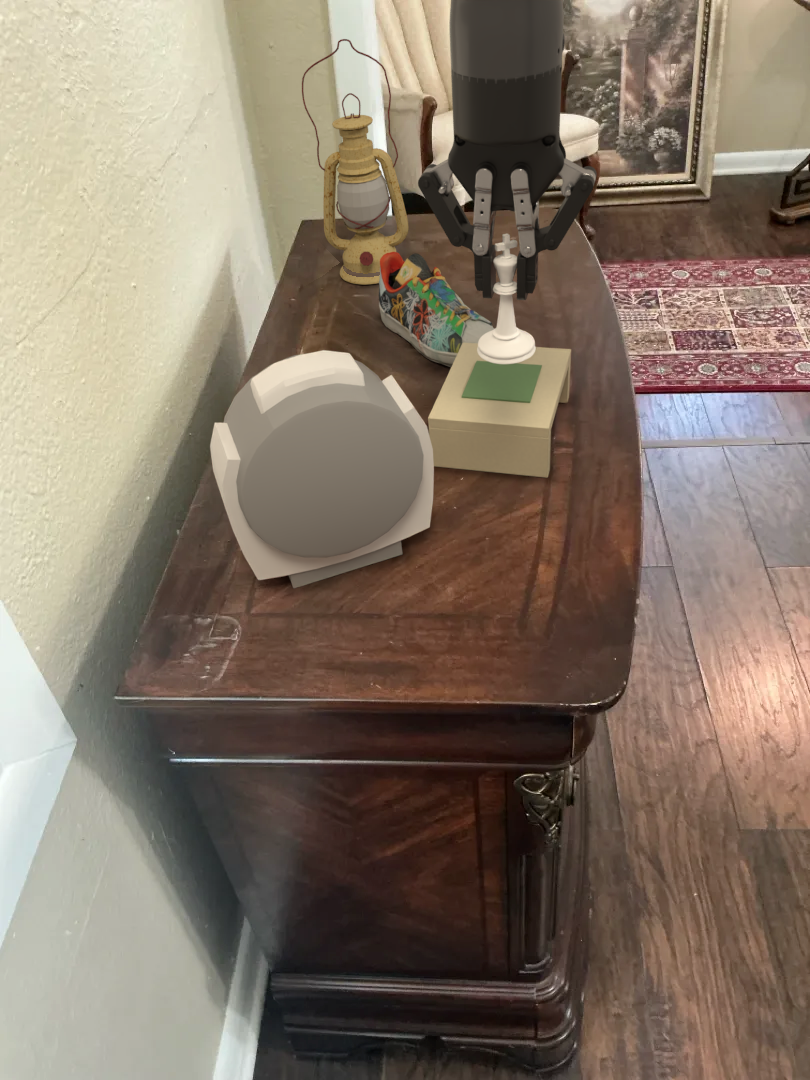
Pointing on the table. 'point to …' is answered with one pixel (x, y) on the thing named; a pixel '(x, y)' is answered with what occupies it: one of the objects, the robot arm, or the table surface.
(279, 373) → the alarm clock
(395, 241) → the lantern
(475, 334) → the sneaker
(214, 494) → the table surface
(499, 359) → the chess piece
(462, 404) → the box with green top
